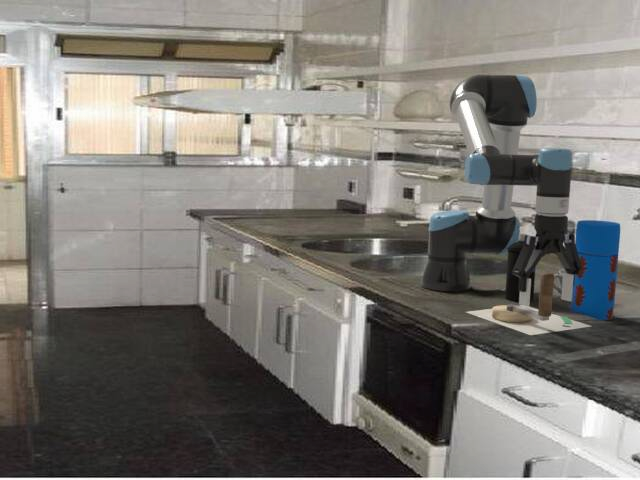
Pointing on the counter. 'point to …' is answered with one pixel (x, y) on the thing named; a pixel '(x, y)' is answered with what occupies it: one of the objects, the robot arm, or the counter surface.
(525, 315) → the crank
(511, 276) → the aerosol can
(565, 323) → the scale board
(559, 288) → the teacup
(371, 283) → the counter surface
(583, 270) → the thermos
